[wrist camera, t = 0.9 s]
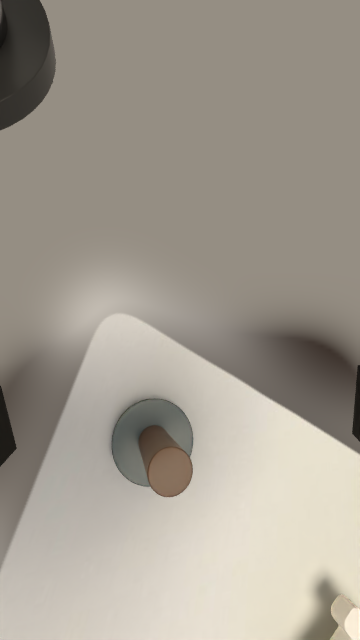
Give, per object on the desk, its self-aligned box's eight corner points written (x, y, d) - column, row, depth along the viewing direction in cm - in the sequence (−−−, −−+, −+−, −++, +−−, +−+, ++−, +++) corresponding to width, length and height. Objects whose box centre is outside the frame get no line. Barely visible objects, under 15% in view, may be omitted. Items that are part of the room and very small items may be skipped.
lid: (101, 471, 21) (87, 530, 13) (126, 389, 23) (129, 393, 14) (178, 489, 22) (214, 554, 14) (197, 408, 24) (238, 423, 15)
